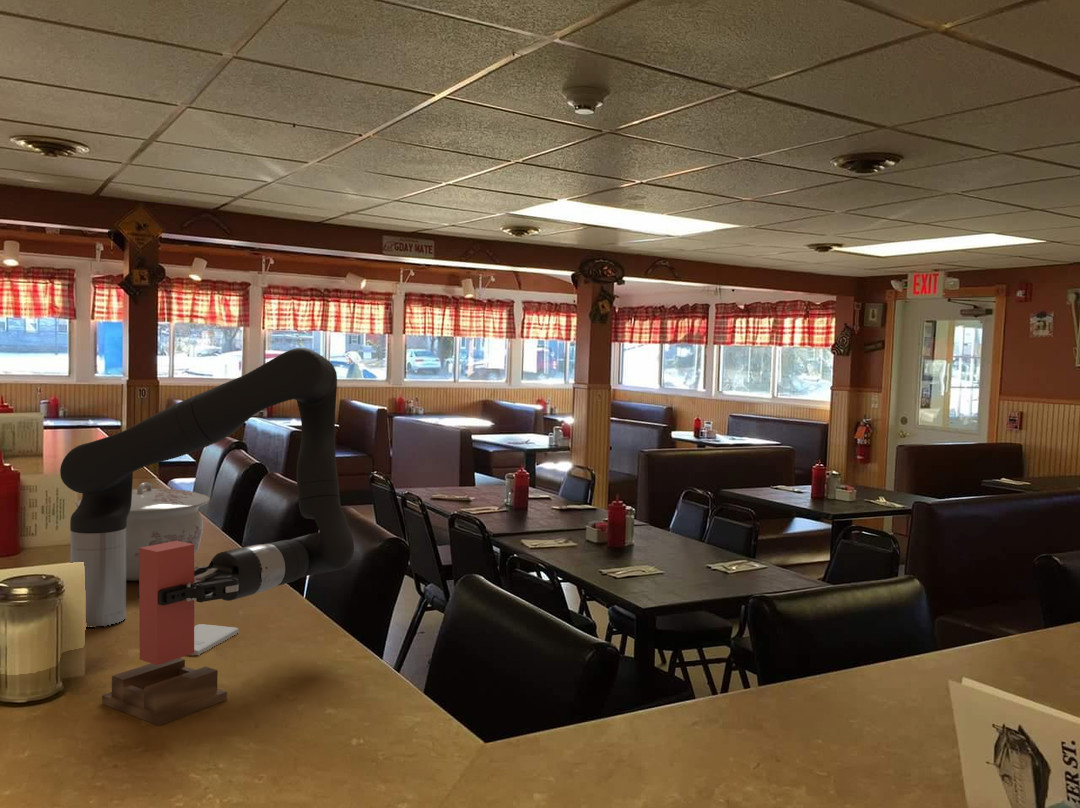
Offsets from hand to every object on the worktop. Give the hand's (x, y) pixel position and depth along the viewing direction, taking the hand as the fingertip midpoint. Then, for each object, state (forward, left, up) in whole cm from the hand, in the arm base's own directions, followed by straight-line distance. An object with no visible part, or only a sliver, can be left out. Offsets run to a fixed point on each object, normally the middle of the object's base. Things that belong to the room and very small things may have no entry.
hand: (149, 595), depth 122 cm
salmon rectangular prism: (0, +3, -9) cm, 10 cm away
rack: (0, +3, -16) cm, 16 cm away
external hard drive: (-18, +22, -17) cm, 33 cm away
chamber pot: (-66, +45, -16) cm, 81 cm away
